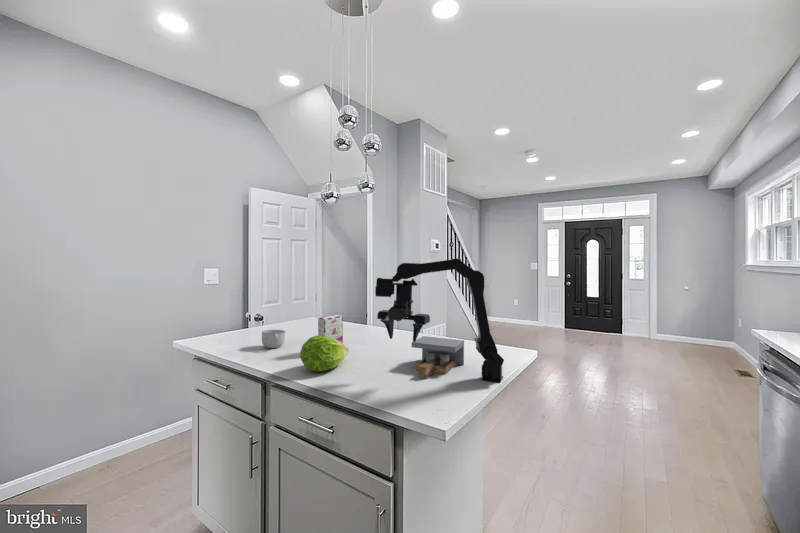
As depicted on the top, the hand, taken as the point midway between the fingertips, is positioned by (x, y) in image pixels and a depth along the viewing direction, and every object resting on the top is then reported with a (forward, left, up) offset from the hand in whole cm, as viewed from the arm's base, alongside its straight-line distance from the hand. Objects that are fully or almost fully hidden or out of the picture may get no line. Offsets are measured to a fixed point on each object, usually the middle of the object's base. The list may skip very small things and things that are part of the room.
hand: (402, 340), depth 131 cm
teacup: (+74, -13, -14) cm, 77 cm away
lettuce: (+32, 0, -14) cm, 35 cm away
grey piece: (-7, -20, -14) cm, 25 cm away
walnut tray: (-7, -13, -14) cm, 20 cm away
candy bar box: (+45, -19, -14) cm, 51 cm away
